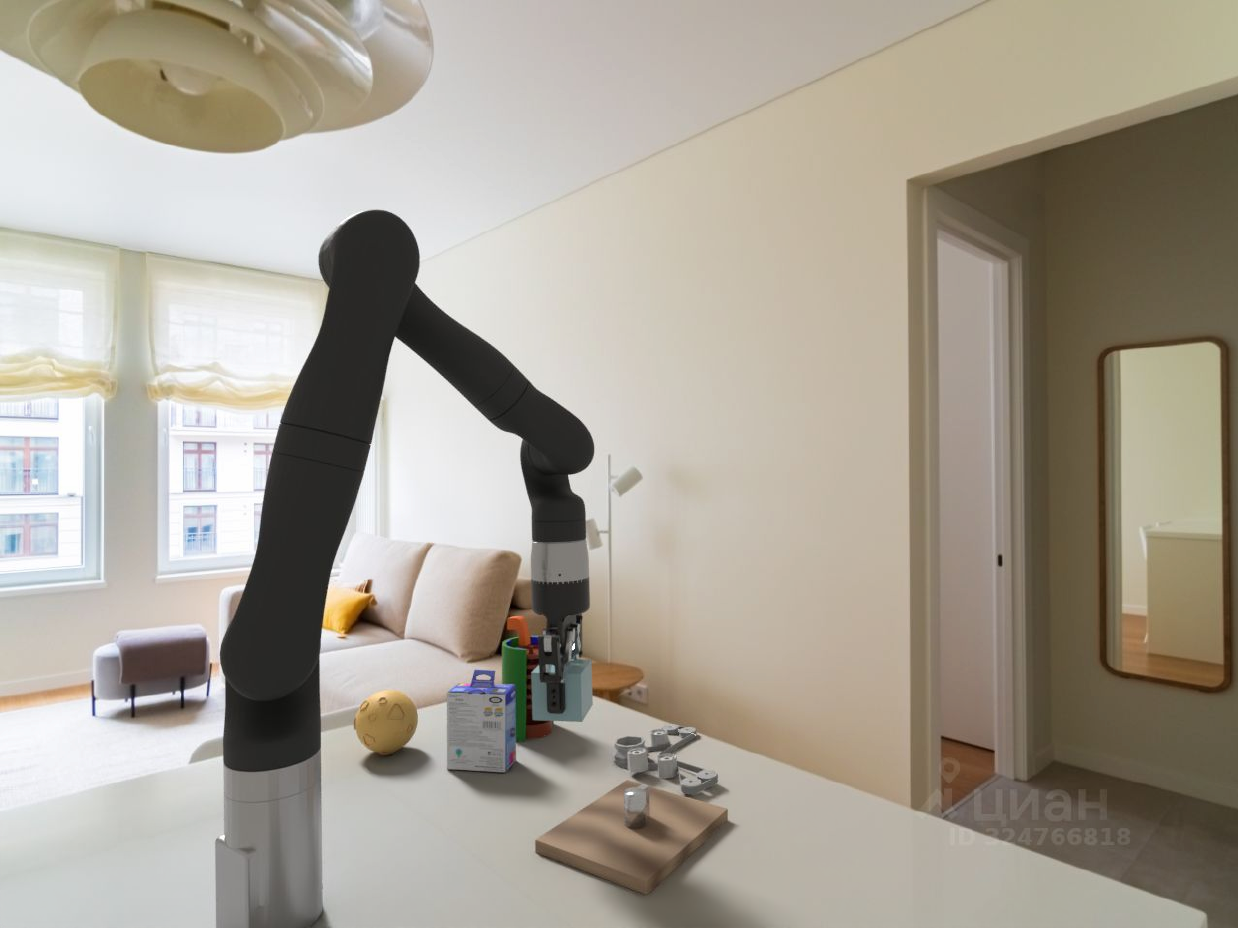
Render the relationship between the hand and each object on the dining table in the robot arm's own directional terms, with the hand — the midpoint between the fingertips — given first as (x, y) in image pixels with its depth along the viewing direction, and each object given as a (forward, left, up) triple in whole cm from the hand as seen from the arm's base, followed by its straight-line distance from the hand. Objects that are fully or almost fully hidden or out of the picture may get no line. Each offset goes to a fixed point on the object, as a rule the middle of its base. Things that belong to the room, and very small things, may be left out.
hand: (563, 702), depth 95 cm
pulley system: (+25, +1, -17) cm, 30 cm away
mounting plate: (+3, -9, -16) cm, 19 cm away
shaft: (+4, -9, -15) cm, 18 cm away
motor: (+23, +27, -16) cm, 40 cm away
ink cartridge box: (+8, +23, -16) cm, 30 cm away
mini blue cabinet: (0, 0, -1) cm, 1 cm away
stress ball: (+3, +40, -16) cm, 44 cm away
